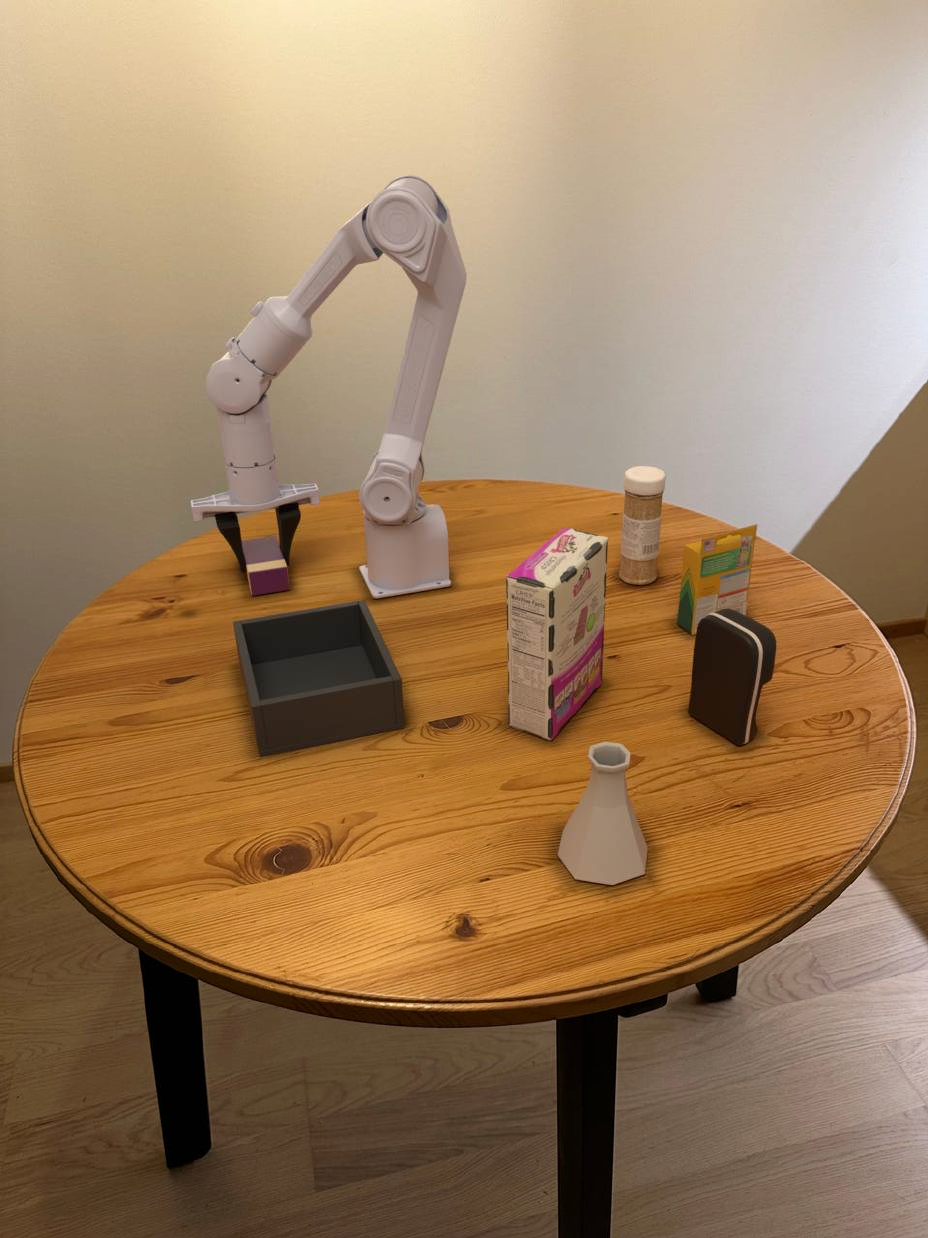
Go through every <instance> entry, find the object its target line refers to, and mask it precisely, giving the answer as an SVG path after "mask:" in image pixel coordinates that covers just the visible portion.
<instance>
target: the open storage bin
mask: <svg viewBox="0 0 928 1238" xmlns="http://www.w3.org/2000/svg"><path fill="white" fill-rule="evenodd" d="M232 625H233V631H234V639H235V644H236V650H237V657H238V663H239V669H240V674H241V678H242V684H243V687H244V692H245V696H246V701H247V705H248V710H249V714H250V719H251V724H252V728H253V734H254V737H255V741H256V742H255V743H256V747H257V750H258V755H259V758H262V757H267V756H273V755H276V754H283V753H287V752H292V751H297V750H302V749H307V748H312V747H316V746H317V747H318V746H323V745H327V744H331V743H332V744H333V743H336V742H342V741H346V740H351V739H356V738H361V737H366V736H371V735H376V734H382V733H386V732H391V731H396V730H401V729H405V712H404V710H405V709H404V696H403V680H402V679H403V678H402V677H401V674H400V672H399V671H398V668H397V666H396V664H395V662H394V660H393V657H392V656H391V653H390V651H389V648H388V647H387V644H386V643H385V640H384V638H383V635H382V634H381V631H380V629H379V627H378V625H377V624H376V620H375V619H374V617H373V615H372V613H371V611H370V608H369V607H368V604H367V602H366V600H365V599H361V600H354V601H349V602H343V603H336V604H332V605H325V606H319V607H313V608H307V609H301V610H294V611H288V612H283V613H277V614H272V615H263V616H258V617H253V618H247V619H241V620H234V621H232Z"/></svg>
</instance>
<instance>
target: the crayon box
mask: <svg viewBox="0 0 928 1238" xmlns="http://www.w3.org/2000/svg"><path fill="white" fill-rule="evenodd" d="M757 531H758V524H757V523H755V524H753V525H748V526H744V527H740V528H737V529H733V530H729V531H725V532H721V533H717V534H713V535H709V536H706V537H702V538H701V540H698V541H694V542H690V543H686V544H684V545H683V554H682V555H683V556H682V565H681V577H680V578H681V579H680V589H679V599H678V600H679V601H678V609H677V610H678V611H677V620H676V624H677V626H679V627H680V628H681V629H683V631H685V632H687V633H688V634H689V635H691V636H692V637H693V636H696V631H697V627H698V623H699V622H700V620H701V619H702V618H703V617H704V616H705V615H707V614H710V613H714V612H717V611H719V610H721V609H727V608H729V609H732V610H735V611H737V612H739V613H741V614H744V615H746V616H747V607H748V600H749V599H748V598H749V591H750V582H751V574H752V568H753V559H754V552H755V551H754V550H755V542H756V538H757Z"/></svg>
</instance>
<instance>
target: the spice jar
mask: <svg viewBox="0 0 928 1238" xmlns="http://www.w3.org/2000/svg"><path fill="white" fill-rule="evenodd" d="M666 479H667V478H666V473H665V471H663V470H662V469H661V468H658V467H655V466H649V465H639V466H633V467H630V468H629V469H626V470H625V472H624V479H623V488H624V490H623V491H624V503H623V511H622V524H621V525H622V526H621V539H620V540H621V541H620V542H621V543H620V565H619V571H618V577H619V579H621V580H622V581H623V582H624V583H627V584H628V585H634V586H645V585H649V584H652V583H653V582H655V581H656V579H657V577H658V572H657V566H658V565H657V564H658V556H659V552H660V541H661V528H662V518H663V517H662V516H663V515H662V508H663V494H664V492H665V489H666Z"/></svg>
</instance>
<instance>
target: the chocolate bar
mask: <svg viewBox="0 0 928 1238" xmlns="http://www.w3.org/2000/svg"><path fill="white" fill-rule="evenodd" d="M278 540H279V539H278V537H277V536H276V535H271V536H265V537H258V538H251V539H245V540H241V541H242V548H243V553H244V557H245V561H246V568H247V572H245V574H246V579H247V582H248V587H249V591H250V594H251V596H252V597H253V596H260V595H265V594H266V595H267V594H273V593H277V592H278V593H279V592H285V591H290V590H291V589H290V588H291V586H290V579H289V570H288V566H287V565H286V562H285V559H284V558H283V555H282V552H281V549H280V545H279V541H278Z"/></svg>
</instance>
